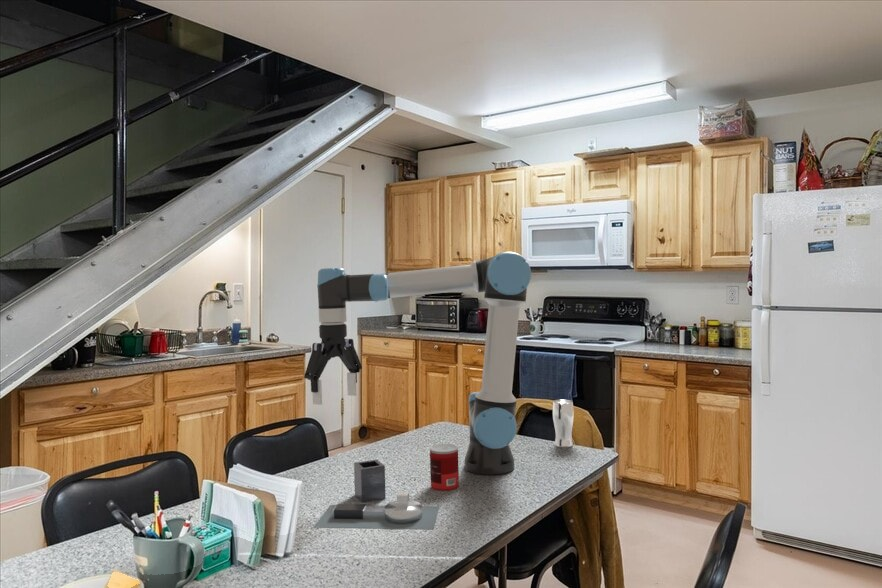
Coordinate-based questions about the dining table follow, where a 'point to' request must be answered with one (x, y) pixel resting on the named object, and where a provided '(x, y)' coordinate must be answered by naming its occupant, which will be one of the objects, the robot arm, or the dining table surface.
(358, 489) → the open square tube
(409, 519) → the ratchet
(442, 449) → the canned food
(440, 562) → the dining table surface
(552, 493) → the dining table surface
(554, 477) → the dining table surface
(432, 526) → the mat
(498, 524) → the dining table surface
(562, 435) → the beer glass
